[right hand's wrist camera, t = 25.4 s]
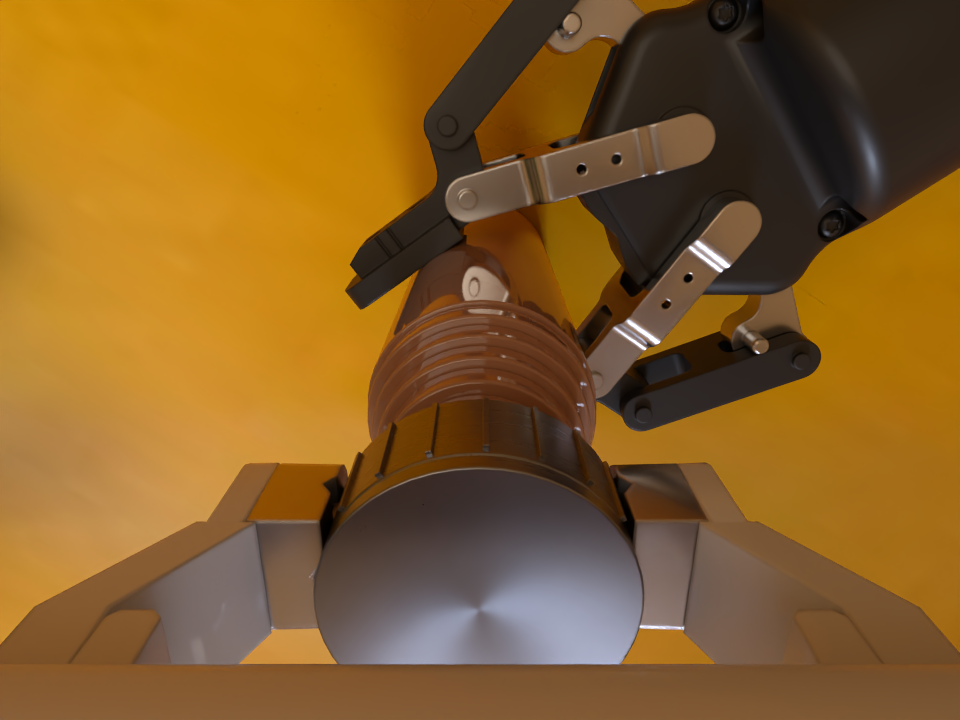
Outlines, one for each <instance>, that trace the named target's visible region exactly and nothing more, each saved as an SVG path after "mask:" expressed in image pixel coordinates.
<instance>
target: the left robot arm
mask: <svg viewBox="0 0 960 720" xmlns="http://www.w3.org/2000/svg"><path fill="white" fill-rule="evenodd" d="M592 40H601V41H604V42H606V43H608V44H609V45H610V46H611V50H610V53H609V55H608V58H607V61H606V63H605V66H604V69H603V71H602V74H601V77H600V79H599V82H598V85H597V87H596V90H595V93H594V95H593V98H592V101H591V103H590V106H589V109H588V111H587V114H586V117H585V120H584V122H583V125H582V128H581V130H580V133H577V134H574V135H570V136H567V137H563V138H560V139H556V140H553V141H550V142H546V143H543V144H539V145H536V146H533V147H529V148H526V149H524V150H521V151H519V152H517V153H513V154H510V155H507V156H503V157H500V158H496V159H493V160H490V161H486V162H483V163H482V159H481V156H480V152H479V148H478V144H477V140H476V136H475V132H474V131H475V130H476V128H477V127H478V126H479V125H480V123H481V122H482V121H483V120H484V118H485V117H486V116H487V115H488V113H489V112H490V111H491V110H492V108H493V107H494V106H495V105H496V103H497V102H498V101H499V100H500V98H501V97H502V96H503V95H504V93H505V92H506V91H507V90H508V89H509V87H510V86H511V85H512V84H513V82H514V81H515V80H516V79H517V77H518V76H519V75H520V74H521V72H522V71H523V70H524V69H525V67H526V66H527V65H528V64H529V62H530V61H531V60H532V59H533V57H534V56H535V55H536V54H537V53H538V51H539V50H540V49H541V48H542V46H543V45H544V46H545V47H546V48H547V49H548V50H549V51H551V52H552V53H554V54H557V55H567V54H570V53H573V52H575V51H577V50H578V49H580V48H581V47H582V46H583V45H585V44H586V43H587V42H588V41H592ZM424 131H425V135H426V137H427V139H428V140H429V143H430V147H431V150H432V154H433V157H434V161H435V164H436V168H437V183H436V186H435V188H434V189H433V190H432V191H431V192H430V193H429V194H427V195H426V196H424V197H423V198H422V199H420V200H419V201H418V202H416V203H415V204H414V205H412V206H411V207H410V208H408V209H407V210H406V211H404V212H403V213H401V214H400V215H399V216H397V217H396V218H395V219H393V220H392V221H391V222H389V223H388V224H387V225H385V226H384V227H383V228H381V229H380V230H378V231H377V232H376V233H374V234H373V235H372V236H370V237H369V238H368V239H367V240H366V241H365V242H364V243H363V245H362V246H361V247H360V248H359V250H358V252H357V253H356V255H355V257H354V258H353V260H352V262H351V264H350V266H351V267H352V268H353V269H354V271H355V272H356V273H357V275H356V276H355V277H354V278H353V279H352V281H351V282H350V284H349V285H348V287H347V288H346V290H345V291H346V293H347V294H348V295H349V296H350V298H351V299H352V300H353V301H354V303H355V304H356V305H357V306H358V307H359V309H360V310H361V309H364V308H365V307H367V306H369V305H370V304H372V303H373V302H374V301H376V300H377V299H379V298H380V297H381V296H383V295H384V294H386V293H387V292H388V291H390V290H391V289H393V288H394V287H395V286H397V285H398V284H400V283H401V282H402V281H404V280H405V279H407V278H408V277H409V276H411V275H412V274H414V273H415V272H416V271H418V270H419V269H421V268H422V267H424V266H425V265H426V264H427V263H428V262H429V261H431V260H432V259H434V258H435V257H437V256H438V255H440V254H442V253H443V252H445V251H446V250H447V249H449V248H450V247H452V246H453V245H454V244H456V243H457V242H459V241H460V240H461V239H463V237H464V227H465V226H466V225H468V224H469V223H470V222H474V221H477V220H481V219H484V218H488V217H492V216H495V215H499V214H502V213H506V212H509V211H513V210H516V209H520V208H523V207H527V206H531V205H536V204H547V203H552V202H556V201H560V200H563V199H567V198H570V197H574V196H578V198H579V200H580V201H581V203H582V204H583V206H584V207H585V208H586V209H587V210H588V211H589V212H590V213H591V214H592V215H593V216H594V217H596V218H597V219H598V220H599V221H600V222H601V223H602V224H603V225H604V227H605V230H606V234H607V237H608V240H609V244H610V247H611V250H612V251H613V253H614V254H615V256H616V258H617V259H618V261H619V262H620V264H621V267H620V268H619V269H618V271H617V272H616V273H615V274H614V276H613V277H612V278H611V279H610V281H609V282H608V283H607V284H606V286H605V287H604V289H603V291H602V293H601V297H600V300H599V302H598V303H597V305H596V306H595V307H594V309H593V310H592V311H591V312H590V314H589V315H588V316H587V317H586V319H585V320H584V321H583V322H582V324H581V325H580V326H579V327H578V329H577V330H576V333H577V336H578V338H579V341H580V344H581V346H582V349H583V352H584V354H585V357H586V360H587V362H588V365H589V368H590V371H591V374H592V377H593V381H594V385H595V392H596V401H597V402H600V403H602V404H603V405H605V406H607V407H608V408H610V409H611V410H613V411H614V412H616V413H617V414H619V415H620V416H622V418H623V420H624V422H625V424H626V425H627V426H628V427H629V428H631V429H633V430H635V431H647V430H650V429H653V428H656V427H659V426H662V425H665V424H668V423H671V422H674V421H677V420H680V419H683V418H686V417H689V416H692V415H694V414H697V413H700V412H703V411H706V410H709V409H712V408H715V407H718V406H721V405H724V404H727V403H730V402H733V401H736V400H739V399H742V398H745V397H748V396H751V395H754V394H757V393H760V392H763V391H766V390H769V389H772V388H775V387H778V386H781V385H784V384H787V383H790V382H793V381H796V380H799V379H801V378H804V377H807V376H809V375H810V374H812V373H813V372H814V371H815V370H816V369H817V367H818V366H819V363H820V360H821V353H820V350H819V348H818V346H817V345H815V344H814V343H813V342H811V341H810V340H808V339H807V338H806V337H805V336H804V335H803V333H802V331H801V327H800V322H799V318H798V313H797V309H796V304H795V299H794V295H793V290H792V285H793V284H794V283H796V282H797V281H798V280H799V279H800V278H801V276H802V275H803V274H804V272H805V271H806V269H807V268H808V266H809V265H810V263H811V262H812V260H813V259H814V258H815V257H816V256H817V254H818V253H819V252H820V251H821V250H822V249H823V248H824V247H826V246H827V245H828V244H829V243H831V242H832V241H834V240H836V239H838V238H840V237H842V236H844V235H846V234H848V233H850V232H853V231H855V230H857V229H859V228H861V227H863V226H865V225H867V224H869V223H871V222H873V221H875V220H876V219H878V218H880V217H881V216H883V215H885V214H886V213H888V212H889V211H891V210H893V209H894V208H896V207H897V206H899V205H901V204H902V203H904V202H906V201H907V200H909V199H910V198H912V197H914V196H915V195H917V194H918V193H920V192H922V191H923V190H925V189H926V188H928V187H930V186H931V185H933V184H935V183H936V182H938V181H939V180H941V179H943V178H944V177H946V176H947V175H949V174H951V173H952V172H954V171H955V170H957V169H959V168H960V0H694V1H692V2H691V3H689V4H688V5H685V6H681V7H677V8H670V9H660V10H656V11H652V12H650V13H647V14H644V13H643V12H642V11H641V10H640V9H639V8H638V7H637V6H636V5H635V4H634V3H633V2H632V1H631V0H513V1H512V3H511V4H510V5H509V6H508V8H507V9H506V10H505V12H504V13H503V14H502V15H501V17H500V18H499V19H498V21H497V22H496V23H495V25H494V26H493V27H492V28H491V30H490V31H489V32H488V34H487V35H486V36H485V37H484V39H483V40H482V41H481V43H480V44H479V45H478V47H477V48H476V49H475V50H474V52H473V53H472V54H471V56H470V57H469V58H468V59H467V61H466V62H465V63H464V65H463V66H462V67H461V69H460V70H459V71H458V72H457V74H456V75H455V76H454V78H453V79H452V80H451V81H450V83H449V84H448V85H447V87H446V88H445V89H444V91H443V92H442V93H441V94H440V96H439V97H438V98H437V100H436V101H435V102H434V103H433V105H432V106H431V107H430V109H429V110H428V112H427V113H426V116H425V119H424ZM701 295H749V296H748V299H747V301H746V303H745V304H744V305H743V307H742V308H740V309H739V310H738V311H736V312H734V313H732V314H730V315H729V316H727V317H726V318H725V320H724V322H723V323H722V326H721V331H719V332H716V333H714V334H711V335H708V336H705V337H702V338H699V339H697V340H694V341H691V342H688V343H685V344H682V345H679V346H677V347H674V348H671V349H668V350H665V351H662V352H659V353H657V354H654V355H651V356H648V357H645V358H642V359H640V360H637V358H638V357H639V356H640V355H641V354H642V353H643V351H644V350H646V349H647V348H649V347H654V346H656V345H657V344H659V343H660V342H661V341H662V340H663V339H664V338H665V337H666V336H667V334H668V333H669V332H670V331H671V330H672V329H673V327H674V326H675V325H676V324H677V323H678V322H679V320H680V319H681V318H682V317H683V316H684V315H685V313H686V312H687V311H688V310H689V309H690V307H691V306H692V305H693V304H694V303H695V302H696V300H697V299H698V298H699V297H700V296H701ZM665 300H666V301H665ZM663 301H665V302H664V303H662V302H663ZM636 360H637V361H636Z"/></svg>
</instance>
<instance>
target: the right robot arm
mask: <svg viewBox="0 0 960 720" xmlns="http://www.w3.org/2000/svg"><path fill="white" fill-rule="evenodd" d="M610 471H611V474H612V477H613V480H614V483H615V486H616V488H617V491H618V494H619V497H620V500H621V503H622V506H623V509H624V512H625V515H626V518H627V521H625V522H626V525H627V528H628V531H629V534H630V537H631V540H632V543H633V546H634V549H635V552H636V555H637V558H638V561H639V565H640V568H641V571H642V575H643V583H644V590H645V594H644V610H643V615H642V620H641V625H640V628H645V629H681V630H683V632H684V633H685V634H686V635H687V636H688V637H689V638H690V639H691V640H692V641H693V642H694V643H695V644H696V645H697V646H698V647H699V648H700V649H701V650H702V651H704V652H705V653H706V654H707V655H708V656H709V657H710V658H711V659H712V660H713V661H714V662H715V663H716V664H239V663H240V662H241V661H242V660H243V659H244V658H245V657H246V656H247V655H248V654H249V653H251V652H252V651H253V650H254V649H255V648H256V647H257V646H258V645H259V644H260V643H261V642H262V641H263V640H264V639H265V638H266V637H268V636H269V635H270V634H271V630H273V629H309V628H318V625H317V620H316V615H315V610H314V597H313V589H314V581H315V573H316V570H317V567H318V564H319V560H320V557H321V554H322V551H323V548H324V545H325V543H326V540H327V537H328V534H329V531H330V528H331V525H332V522H333V512H332V510H333V507H334V504H336V503H338V502H340V499H341V496H342V493H343V491H344V488H345V485H346V482H347V479H348V476H347V470H346V468H345V465H340V464H287V463H282V464H279V463H250V464H246V465H244V466H243V468H242V469H241V471H240V472H239V474H238V475H237V477H236V478H235V480H234V481H233V483H232V484H231V486H230V487H229V489H228V490H227V492H226V493H225V495H224V496H223V498H222V499H221V501H220V502H219V504H218V505H217V507H216V508H215V510H214V511H213V513H212V514H211V516H210V517H209V519H208V520H207V522H195V523H193V524H191V525H189V526H187V527H186V528H184V529H182V530H180V531H178V532H176V533H174V534H172V535H170V536H168V537H167V538H165V539H163V540H161V541H159V542H157V543H155V544H153V545H151V546H149V547H147V548H146V549H144V550H142V551H140V552H138V553H136V554H134V555H132V556H130V557H128V558H126V559H125V560H123V561H121V562H119V563H117V564H115V565H113V566H111V567H109V568H107V569H105V570H104V571H102V572H100V573H98V574H96V575H94V576H92V577H90V578H88V579H86V580H84V581H83V582H81V583H79V584H77V585H75V586H73V587H71V588H69V589H67V590H65V591H63V592H62V593H60V594H58V595H56V596H54V597H52V598H50V599H48V600H46V601H44V602H43V603H41V604H39V605H37V606H35V607H34V608H33V609H32V610H31V611H30V612H29V613H28V614H27V616H26V617H25V618H24V619H23V620H22V621H21V622H20V623H19V625H18V626H17V627H16V628H15V629H14V630H13V631H12V632H11V633H10V635H9V636H8V637H7V638H6V639H5V640H4V641H3V642H2V644H1V645H0V720H960V653H959V652H958V651H957V649H956V648H955V647H954V646H953V645H952V644H951V643H950V641H949V640H948V639H947V638H946V637H945V636H944V635H943V633H942V632H941V631H940V630H939V629H938V628H937V626H936V625H935V624H934V623H933V622H932V621H931V620H930V618H929V617H928V616H927V615H926V614H925V613H924V612H923V610H922V609H921V608H920V607H918V606H916V605H914V604H912V603H910V602H908V601H906V600H905V599H903V598H901V597H899V596H897V595H895V594H893V593H891V592H890V591H888V590H886V589H884V588H882V587H880V586H878V585H876V584H874V583H873V582H871V581H869V580H867V579H865V578H863V577H861V576H859V575H857V574H856V573H854V572H852V571H850V570H848V569H846V568H844V567H842V566H840V565H839V564H837V563H835V562H833V561H831V560H829V559H827V558H825V557H823V556H822V555H820V554H818V553H816V552H814V551H812V550H810V549H808V548H807V547H805V546H803V545H801V544H799V543H797V542H795V541H793V540H791V539H790V538H788V537H786V536H784V535H782V534H780V533H778V532H776V531H774V530H773V529H771V528H769V527H767V526H765V525H763V524H761V523H759V522H748V521H747V520H746V518H745V517H744V515H743V514H742V512H741V510H740V509H739V507H738V506H737V504H736V503H735V501H734V500H733V498H732V497H731V495H730V494H729V492H728V491H727V489H726V488H725V486H724V485H723V483H722V482H721V480H720V479H719V477H718V476H717V474H716V473H715V471H714V470H713V468H712V466H711V465H709V464H707V463H684V464H638V465H612V466H610Z"/></svg>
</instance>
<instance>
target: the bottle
mask: <svg viewBox="0 0 960 720" xmlns="http://www.w3.org/2000/svg"><path fill="white" fill-rule="evenodd" d="M483 397H488V398H489V400H500V401H505V402H511V403H516V404H520V405H523V406H526V407H530V408H532V407H533V406H535V407H537V408H538V411H540V412H543V413H545V414H547V415H549V416H552V417H554V418H555V419H557V420H559V421H560V422H562V423H563V424H565V425H567V426H568V427H570V428H571V429H572V430H574V429H575V428H576V429H577V430H579V431H580V434H581V437H582V438H583V439H584V440H585V441H586V442H587V443H588V444H589V445H590V446H591V444H592V441H593V437H594V432H595V426H596V392H595V385H594V381H593V377H592V374H591V371H590V368H589V365H588V362H587V360H586V357H585V354H584V352H583V349H582V346H581V344H580V341H579V338H578V336H577V333H576V330H575V328H574V325H573V322H572V320H571V317H570V314H569V312H568V309H567V306H566V304H565V301H564V298H563V296H562V293H561V290H560V288H559V285H558V282H557V280H556V277H555V274H554V272H553V269H552V266H551V264H550V261H549V258H548V256H547V253H546V250H545V248H544V245H543V242H542V240H541V238H540V236H539V234H538V232H537V230H536V229H535V227H534V226H533V225H532V224H531V223H530V221H529V220H528V219H526V218H525V217H524V216H523V215H522V214H520V213H519V212H517V211H516V210H513V211H509V212H506V213H502V214H499V215H495V216H492V217H488V218H484V219H481V220H477V221H474V222H470V223H469V224H468V225H466V226H465V227H464V237H463V239H461V240H460V241H459V242H457V243H456V244H454V245H453V246H452V247H450V248H449V249H447V250H446V251H445V252H443V253H442V254H440V255H438V256H437V257H435V258H434V259H432V260H431V261H429V262H428V263H427V264H426V265H425V266H424V267H422V268H421V269H419V270H418V271H416V272H415V273H414V274H413V275H412V277H411V280H410V282H409V284H408V287H407V289H406V292H405V294H404V297H403V299H402V301H401V304H400V306H399V309H398V311H397V314H396V316H395V319H394V321H393V323H392V326H391V328H390V331H389V333H388V336H387V338H386V341H385V343H384V345H383V348H382V350H381V353H380V355H379V358H378V360H377V363H376V365H375V367H374V370H373V374H372V377H371V380H370V385H369V392H368V427H369V433H370V437H371V441H373V440H374V439H375V438H376V437H378V436H379V435H380V434H381V433H382V432H384V431H385V430H386V429H387V427H388V424H389V423H391V422H394V423H396V422H398V421H400V420H401V419H403V418H405V417H407V416H409V415H411V414H413V413H416V412H418V411H420V410H422V409H425V408H429V407H432V404H433V403H437V402H438V404H442V403H448V402H453V401H459V400H472V399H483Z"/></svg>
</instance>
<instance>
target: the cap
mask: <svg viewBox="0 0 960 720" xmlns="http://www.w3.org/2000/svg"><path fill="white" fill-rule="evenodd" d="M332 512H333V522H332V525H331V528H330V531H329V534H328V537H327V540H326V543H325V545H324V548H323V551H322V554H321V557H320V560H319V564H318V567H317V570H316V573H315V581H314V589H313V597H314V610H315V615H316V620H317V625H318V628H319V630H320V633H321V636H322V638H323V641H324V643H325V645H326V646H327V648H328V650H329V652H330V653H331V655H332V657H333V658H334V659H335V661H336V662H337V663H338V664H621V662H622V661H623V660H624V659H625V657H626V656H627V654H628V652H629V650H630V649H631V647H632V645H633V643H634V641H635V638H636V636H637V633H638V631H639V628H640V625H641V620H642V615H643V610H644V594H645V590H644V583H643V575H642V571H641V568H640V565H639V561H638V558H637V555H636V552H635V549H634V546H633V543H632V540H631V537H630V534H629V531H628V528H627V525H626V522H625V521H627V518H626V515H625V512H624V509H623V506H622V503H621V500H620V497H619V494H618V491H617V488H616V486H615V483H614V480H613V477H612V474H611V471H610V468H609V465H608V463H607V462H606V461H605V462H602V461H601V459H600V458H599V456H598V455H597V454H596V452H595V451H594V450H593V449H592V447H591V446H590V445H589V444H588V443H587V442H586V441H585V440H584V439H583V438H582V437H581V434H580V431H579V430H577V429H576V428H575V429H574V430H572V429H571V428H570V427H568V426H567V425H565V424H563V423H562V422H560V421H559V420H557V419H555V418H554V417H552V416H549V415H547V414H545V413H543V412H540V411H538V408H537V407H535V406H533V407H532V408H530V407H526V406H523V405H520V404H516V403H511V402H505V401H500V400H489V398H488V397H483V399H472V400H459V401H453V402H448V403H442V404H438V402H437V403H433V404H432V407H429V408H425V409H422V410H420V411H418V412H416V413H413V414H411V415H409V416H407V417H405V418H403V419H401V420H400V421H398V422H396V423H394V422H391V423H389V424H388V427H387V429H386V430H385V431H384V432H382V433H381V434H380V435H379V436H378V437H376V438H375V439H374V440H373V441H372V442H371V444H370V445H369V446H368V447H367V448H366V449H365V450H364V451H363V453H360V452H358V453H357V455H356V457H355V460H354V463H353V466H352V469H351V472H350V475H349V477H348V479H347V482H346V485H345V488H344V491H343V493H342V496H341V499H340V502H338V503H336V504H334V507H333V510H332Z"/></svg>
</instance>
